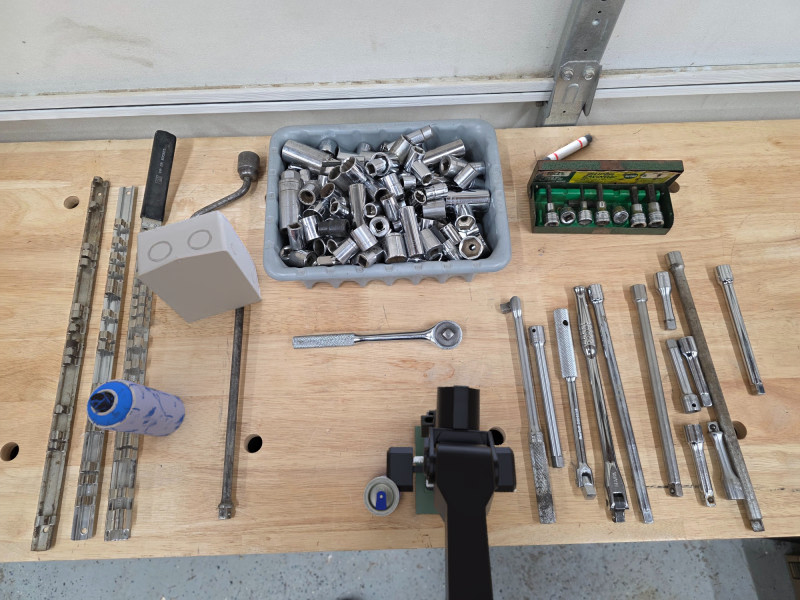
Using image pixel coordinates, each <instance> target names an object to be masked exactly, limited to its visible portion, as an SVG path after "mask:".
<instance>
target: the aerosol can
mask: <svg viewBox="0 0 800 600" xmlns="http://www.w3.org/2000/svg"><path fill="white" fill-rule="evenodd" d="M85 413H86V417H87V419H88V420H89V422H90V423H91V424H92V425H93V426H94V427H96V428H98V429H100V430H104V431H105V430H106V431H110V432H111V431H112V432H119V433H126V434H127V433H129V434H136V435H145V436H152V437H159V438H160V437H166V436H169V435H171V434H174V433H175V432H176V431H177V430H178V429H179V428H180V427H181V425H182V423H183V422H184V419H185V415H186V408H185V404H184V402H183V400H182V399H181V398H180V397H178V396H177V395H175V394H172V393H169V392H166V391H163V390H160V389H156V388H153V387H151V386H146V385H143V384H139V383H137V382H133V381H130V380H127V379H122V378H115V379H109V380H106V381H104V382H102V383H100V384H98V386H96V387H95V388H94V389H93V391H92V392H91V393H90V395H89V397H88V399H87V401H86V407H85Z"/></svg>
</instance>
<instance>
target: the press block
mask: <svg viewBox="0 0 800 600" xmlns="http://www.w3.org/2000/svg"><path fill="white" fill-rule="evenodd" d="M414 454H415V455H414V457H415V456H422V457H423V455H424V437H421V425H415V426H414ZM414 465H423V464H422V463H421V462H420V464H419V462H418V463H417V464H416V462H415V464H414ZM415 515H439V514H438V512H437V511H436V509H435V508H434V491H429V490H427V489H426V487H425V474H424V473H415Z"/></svg>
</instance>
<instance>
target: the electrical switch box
mask: <svg viewBox="0 0 800 600" xmlns="http://www.w3.org/2000/svg"><path fill="white" fill-rule="evenodd" d="M136 254H137V255H136V256H137V278H138V280H139V281H140V282H141V283H142V284H144V285H145V286H146V287H147V288H148V289H149V290H150V291H151V292H153V294H155V295H156V297H158V298H159V299H160V300H161V301H163V302H164V303H165V304H166V305H167V306H168V307H169V308H170V309H171V310H173V312H175V313H176V314H177V315H178V316H180V318H182V319H183V320H184V321H185V322H186V323H188V324H192V323H195V322H198V321H201V320H204V319H209V318H211V317H214V316H217V315H220V314H224V313H227V312H230V311H231V312H232V311H233V310H237V309H239V308H240V309H241V308H243V307H246V306H249V305H253V304H256V303H259V302H262V301H263V297H262V294H261V288H260V285H259V279H258V273H257V269H256V264H255V262H254V260H253V258H252V255H251V254H250V252H249V250H248V249H247V247H246V246H245V244H244V242H243V241H242V239H241V238H240V236H239V235H238V233H237V231H236V230H235V228H234V226H233V225H232V223H231V222H230V219H228V218H227V216H225V214H224V213H222V211H220V210H214V211H213V210H212V211H209V212H207V213H203V214H200V215H199V214H198V215H196V216H192V217H188V218H186V219H182V220H179V221H176V222H172V223H169V224H165V225H162V226H157V227H155V228H151V229H148V230H144V231H141V232H139V233H137V235H136Z"/></svg>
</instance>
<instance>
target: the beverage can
mask: <svg viewBox="0 0 800 600" xmlns="http://www.w3.org/2000/svg"><path fill="white" fill-rule="evenodd" d="M401 497H402V492H399V489H398V487H397V486H396V484H395V483H394V482H393V481H392V480H390V479H388V478H387V477H386V475H381V476H377V477H375V478H373V479H372V480H371V481H369V482H368V483H367V485H366V486H365V488H364V491H363V498H362V499H363V504H364V506H365V508H366V509H367V511H368V512H369V513H370V514H372V515H374V516H377V517H387V516H388V515H390V514H392V513H393V512H394V511H395V510H396V509H397V507H398V505H399V503H400V500H401Z"/></svg>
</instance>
